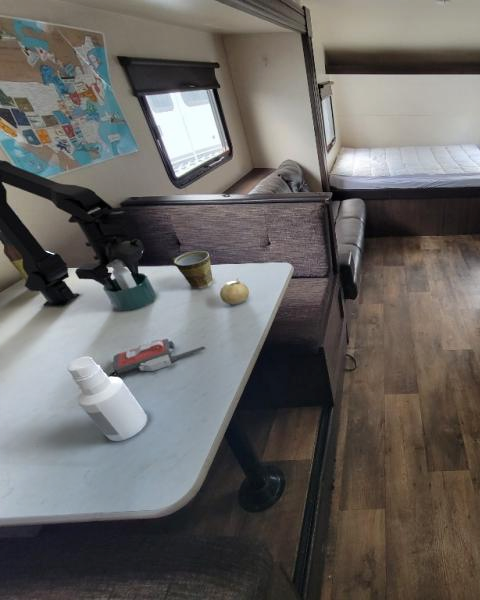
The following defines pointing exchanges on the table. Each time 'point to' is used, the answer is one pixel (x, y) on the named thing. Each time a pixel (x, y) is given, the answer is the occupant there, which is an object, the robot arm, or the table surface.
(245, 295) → the onion
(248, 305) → the table surface
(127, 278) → the eye dropper bottle
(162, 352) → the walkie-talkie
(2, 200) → the robot arm
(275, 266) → the table surface
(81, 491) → the table surface
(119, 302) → the canister
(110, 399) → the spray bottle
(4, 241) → the sauce bottle
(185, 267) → the ceramic cup
